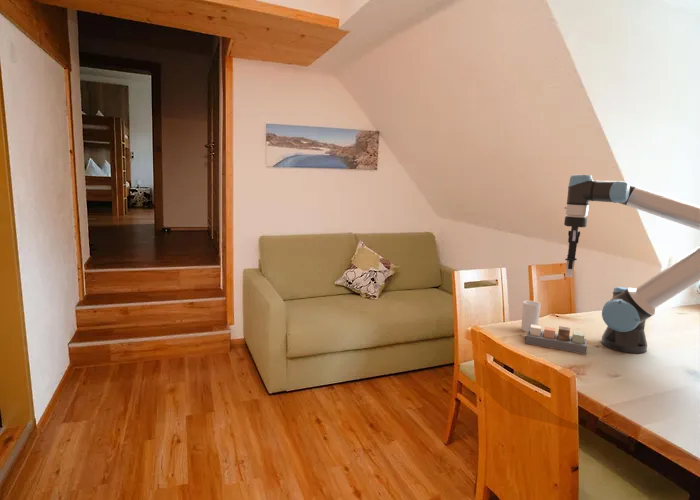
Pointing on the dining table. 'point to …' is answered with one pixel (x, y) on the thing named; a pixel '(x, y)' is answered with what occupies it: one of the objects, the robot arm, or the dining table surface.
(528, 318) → the mug
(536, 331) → the key ivory
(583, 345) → the grey slotted rack
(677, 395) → the dining table surface
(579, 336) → the key sage
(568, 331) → the key walnut
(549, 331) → the key terracotta
